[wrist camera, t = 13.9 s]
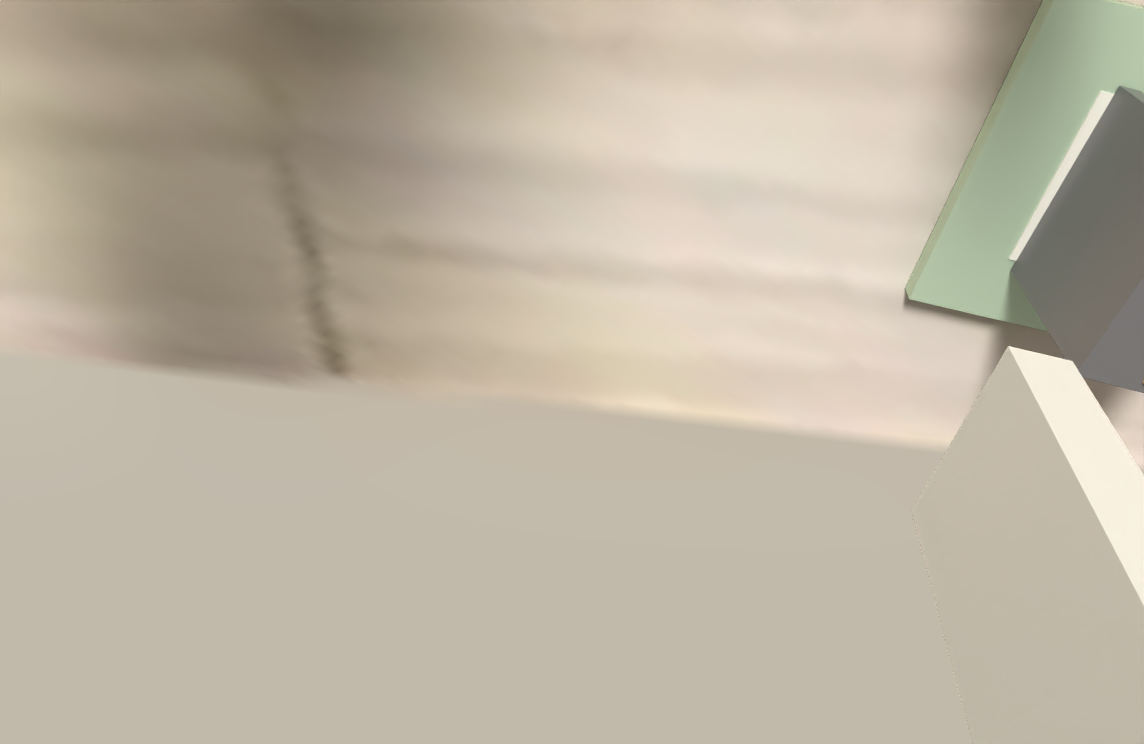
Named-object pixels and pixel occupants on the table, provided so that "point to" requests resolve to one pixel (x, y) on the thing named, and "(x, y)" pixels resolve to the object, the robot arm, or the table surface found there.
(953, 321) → the table surface
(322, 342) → the table surface
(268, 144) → the table surface
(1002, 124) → the board
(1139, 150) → the plug housing
